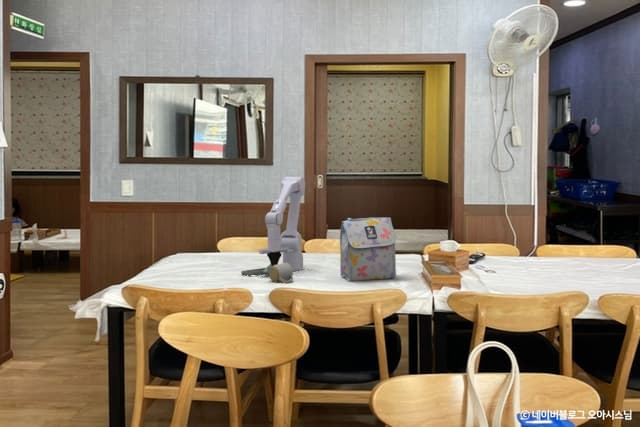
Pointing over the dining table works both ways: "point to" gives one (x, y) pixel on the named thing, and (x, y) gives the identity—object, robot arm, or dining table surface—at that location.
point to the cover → (267, 269)
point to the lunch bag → (367, 249)
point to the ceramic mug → (281, 273)
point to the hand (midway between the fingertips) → (274, 268)
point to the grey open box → (253, 272)
